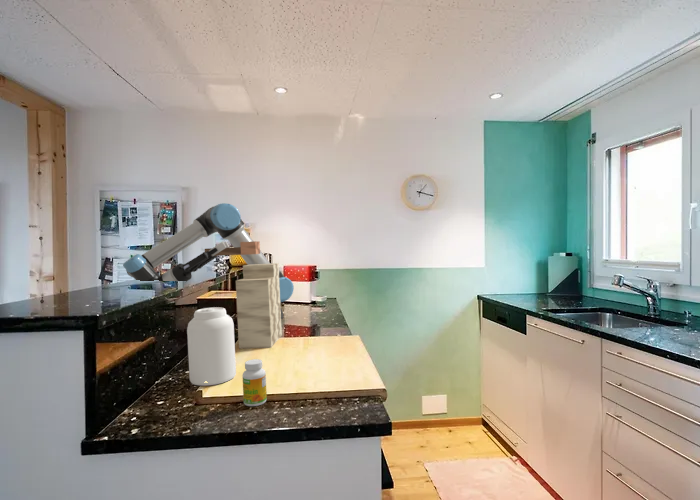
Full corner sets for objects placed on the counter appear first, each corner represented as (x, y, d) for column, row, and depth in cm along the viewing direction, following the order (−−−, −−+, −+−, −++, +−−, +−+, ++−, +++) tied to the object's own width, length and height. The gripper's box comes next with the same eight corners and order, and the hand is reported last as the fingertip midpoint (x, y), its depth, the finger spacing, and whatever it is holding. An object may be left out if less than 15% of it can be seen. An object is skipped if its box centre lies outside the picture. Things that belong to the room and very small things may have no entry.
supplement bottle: (239, 406, 88) (237, 365, 88) (249, 397, 93) (247, 358, 93) (262, 407, 87) (260, 365, 87) (270, 397, 92) (268, 358, 92)
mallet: (209, 255, 155) (208, 243, 155) (260, 253, 154) (259, 241, 154) (203, 256, 149) (202, 243, 149) (256, 254, 148) (255, 241, 148)
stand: (253, 336, 157) (249, 264, 156) (281, 335, 156) (278, 263, 156) (238, 348, 139) (235, 267, 138) (271, 347, 138) (267, 265, 138)
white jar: (179, 383, 105) (176, 311, 105) (214, 369, 116) (211, 304, 116) (211, 389, 99) (208, 314, 99) (245, 374, 110) (242, 306, 110)
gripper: (191, 281, 160) (237, 252, 159) (172, 285, 144) (223, 253, 143) (182, 266, 160) (228, 237, 159) (162, 269, 144) (213, 236, 143)
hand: (226, 244), depth 151 cm, fingers closed on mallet, 3 cm apart
